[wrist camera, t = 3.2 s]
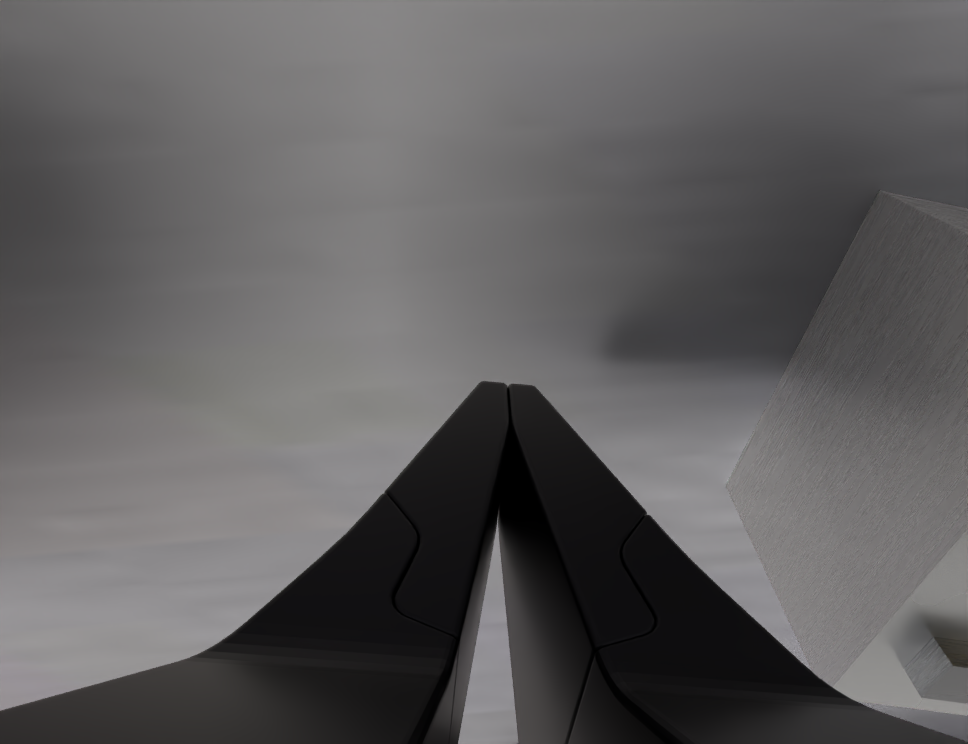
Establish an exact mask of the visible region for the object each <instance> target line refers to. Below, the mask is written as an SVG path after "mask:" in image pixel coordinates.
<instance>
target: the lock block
mask: <svg viewBox="0 0 968 744" xmlns="http://www.w3.org/2000/svg"><path fill="white" fill-rule="evenodd" d="M725 486H726V488H727V490H728V492H729V495H730V497H731V499H732V501H733V503H734V505H735V507H736V509H737V512H738V514H739V516H740V518H741V520H742V522H743V524H744V527H745V529H746V531H747V533H748V535H749V537H750V539H751V542H752V544H753V546H754V548H755V550H756V552H757V554H758V557H759V559H760V561H761V563H762V565H763V567H764V569H765V571H766V574H767V576H768V578H769V580H770V582H771V584H772V586H773V589H774V591H775V593H776V595H777V597H778V599H779V601H780V604H781V606H782V608H783V610H784V612H785V614H786V616H787V619H788V621H789V623H790V625H791V627H792V629H793V631H794V633H795V636H796V638H797V640H798V642H799V644H800V646H801V648H802V651H803V653H804V655H805V657H806V659H807V661H808V663H809V666H810V668H811V670H812V672H813V673H814V674H815V675H817V676H818V677H819V678H820V679H822V680H823V681H825V682H826V683H827V684H829V685H830V686H831V687H833V688H834V689H836V690H837V691H839V692H841V693H842V694H844V695H846V696H847V697H849V698H851V699H853V700H855V701H858V702H865V703H873V704H881V705H888V706H896V707H904V708H912V709H919V710H927V711H935V712H942V713H950V714H958V715H966V716H968V208H965V207H960V206H955V205H950V204H945V203H940V202H935V201H930V200H925V199H920V198H915V197H910V196H905V195H900V194H895V193H890V192H885V191H880V190H879V192H878V194H877V196H876V198H875V200H874V202H873V203H872V205H871V207H870V209H869V211H868V213H867V215H866V217H865V219H864V221H863V223H862V225H861V226H860V228H859V230H858V232H857V234H856V236H855V238H854V240H853V242H852V244H851V246H850V248H849V249H848V251H847V253H846V255H845V257H844V259H843V261H842V263H841V265H840V267H839V269H838V270H837V272H836V274H835V276H834V278H833V280H832V282H831V284H830V286H829V288H828V290H827V292H826V293H825V295H824V297H823V299H822V301H821V303H820V305H819V307H818V309H817V311H816V313H815V315H814V316H813V318H812V320H811V322H810V324H809V326H808V328H807V330H806V332H805V334H804V336H803V338H802V339H801V341H800V343H799V345H798V347H797V349H796V351H795V353H794V355H793V357H792V359H791V361H790V362H789V364H788V366H787V368H786V370H785V372H784V374H783V376H782V378H781V380H780V382H779V384H778V385H777V387H776V389H775V391H774V393H773V395H772V397H771V399H770V401H769V403H768V405H767V406H766V408H765V410H764V412H763V414H762V416H761V418H760V420H759V422H758V424H757V426H756V428H755V429H754V431H753V433H752V435H751V437H750V439H749V441H748V443H747V445H746V447H745V449H744V451H743V452H742V454H741V456H740V458H739V460H738V462H737V464H736V466H735V468H734V470H733V472H732V474H731V475H730V477H729V479H728V481H727V483H726V485H725Z"/></svg>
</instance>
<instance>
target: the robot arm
mask: <svg viewBox="0 0 968 744" xmlns="http://www.w3.org/2000/svg"><path fill="white" fill-rule="evenodd" d="M497 518H498V528H499V542H500V552H501V563H502V573H503V584H504V594H505V605H506V615H507V626H508V636H509V647H510V657H511V668H512V678H513V689H514V699H515V710H516V720H517V731H518V741H519V744H968V742H966V741H963V740H960V739H957V738H954V737H952V736H949V735H946V734H943V733H940V732H937V731H934V730H931V729H928V728H925V727H923V726H920V725H917V724H914V723H911V722H908V721H905V720H902V719H899V718H896V717H894V716H891V715H888V714H885V713H882V712H879V711H877V710H874V709H872V708H869V707H867V706H865V705H863V704H861V703H859V702H857V701H855V700H853V699H851V698H849V697H847V696H846V695H844V694H842V693H841V692H839V691H837V690H836V689H834V688H833V687H831V686H830V685H829V684H827V683H826V682H825V681H823V680H822V679H820V678H819V677H818V676H817V675H815V674H814V673H813V672H812V671H811V670H810V669H808V668H807V667H806V666H805V665H804V664H803V663H801V662H800V661H799V660H798V659H797V658H796V657H795V656H794V655H793V654H792V653H791V652H790V651H788V650H787V649H786V648H785V647H784V646H783V645H782V644H781V643H780V642H779V641H778V640H776V639H775V638H774V637H773V636H772V635H771V634H770V633H769V632H768V631H767V630H766V629H765V628H763V627H762V626H761V625H760V624H759V623H758V622H757V621H756V620H755V619H754V618H753V617H751V616H750V615H749V614H748V613H747V612H746V611H745V610H744V609H743V608H742V607H741V606H740V605H738V604H737V603H736V602H735V601H734V600H733V599H732V598H731V597H730V596H729V595H728V594H726V593H725V592H724V591H723V590H722V589H721V588H720V587H719V586H718V585H717V584H716V583H715V582H714V581H713V580H712V579H711V578H710V577H709V576H708V575H707V574H705V573H704V572H703V571H702V570H701V569H700V568H699V567H698V566H697V565H696V564H695V563H694V562H693V561H692V560H691V559H690V558H689V557H688V556H687V555H686V554H685V553H684V552H683V551H682V550H681V548H680V547H679V546H678V545H677V544H676V543H675V542H674V541H673V540H672V539H671V538H670V537H669V536H668V535H667V534H666V533H665V531H664V530H663V529H662V528H661V527H660V526H659V525H658V524H657V522H656V521H655V520H654V519H653V518H652V517H651V516H650V515H647V512H646V510H645V509H644V508H643V507H642V506H641V505H640V504H639V503H638V501H637V500H636V499H635V498H634V497H633V496H632V495H631V494H630V492H629V491H628V490H627V489H626V488H625V487H624V486H623V485H622V483H621V482H620V481H619V480H618V479H617V478H616V477H615V476H614V474H613V473H612V472H611V471H610V470H609V469H608V468H607V467H606V465H605V464H604V463H603V462H602V461H601V460H600V459H599V458H598V456H597V455H596V454H595V453H594V452H593V451H592V450H591V449H590V447H589V446H588V445H587V444H586V443H585V442H584V441H583V440H582V438H581V437H580V436H579V435H578V434H577V433H576V432H575V431H574V430H573V428H572V427H571V426H570V425H569V424H568V423H567V422H566V421H565V419H564V418H563V417H562V416H561V415H560V414H559V413H558V412H557V410H556V409H555V408H554V407H553V406H552V405H551V404H550V403H549V401H548V400H547V399H546V398H545V397H544V396H543V395H542V394H541V392H540V391H539V390H538V389H537V388H536V387H535V386H532V385H522V384H510V385H509V386H508V388H507V385H506V384H505V383H499V382H487V381H482V382H480V383H479V384H478V385H477V386H476V388H475V389H474V390H473V391H472V392H471V393H470V394H469V396H468V397H467V398H466V399H465V400H464V401H463V402H462V404H461V405H460V406H459V407H458V408H457V409H456V410H455V412H454V413H453V414H452V415H451V416H450V417H449V418H448V420H447V421H446V422H445V423H444V424H443V425H442V426H441V428H440V429H439V430H438V431H437V432H436V433H435V434H434V436H433V437H432V438H431V439H430V440H429V441H428V442H427V444H426V445H425V446H424V447H423V448H422V449H421V450H420V452H419V453H418V454H417V455H416V456H415V457H414V459H413V460H412V461H411V462H410V463H409V464H408V465H407V467H406V468H405V469H404V470H403V471H402V472H401V473H400V475H399V476H398V477H397V478H396V479H395V480H394V481H393V483H392V484H391V485H390V486H389V487H388V488H387V489H386V491H385V493H384V494H382V495H381V496H380V497H379V498H378V499H377V500H376V502H375V503H374V504H373V505H372V506H371V507H370V509H369V510H368V511H367V512H366V513H365V514H364V515H363V516H362V517H361V518H360V519H359V520H358V521H357V522H356V524H355V525H354V526H353V527H352V528H351V529H350V530H349V531H348V532H347V533H346V534H345V535H344V536H343V537H342V538H341V539H339V540H338V541H337V542H336V543H335V544H334V545H333V546H332V547H331V548H330V549H329V550H328V551H326V552H325V553H324V554H323V555H322V556H321V557H320V558H319V559H318V560H317V561H315V562H314V563H313V564H312V565H311V566H310V567H309V568H307V569H306V570H305V571H304V572H303V573H302V574H301V575H299V576H298V577H297V578H296V579H295V580H294V581H292V582H291V583H290V584H289V585H288V586H287V587H286V588H284V589H283V590H282V591H281V592H280V593H279V594H278V595H276V596H275V597H274V598H273V599H272V600H271V601H270V602H268V603H267V604H266V605H265V606H264V607H263V608H262V609H260V610H259V611H258V612H257V613H256V614H255V615H253V616H252V617H251V618H250V619H249V620H248V621H247V622H245V623H244V624H243V625H242V626H241V627H239V628H238V629H237V630H236V631H234V632H233V633H232V634H230V635H229V636H227V637H226V638H225V639H223V640H222V641H220V642H219V643H217V644H216V645H214V646H212V647H210V648H209V649H207V650H205V651H203V652H201V653H199V654H197V655H195V656H192V657H190V658H187V659H184V660H181V661H178V662H174V663H171V664H167V665H163V666H160V667H156V668H153V669H149V670H145V671H142V672H138V673H135V674H131V675H127V676H124V677H120V678H117V679H113V680H109V681H106V682H102V683H99V684H95V685H91V686H88V687H84V688H81V689H77V690H73V691H70V692H66V693H63V694H59V695H55V696H52V697H48V698H45V699H41V700H37V701H34V702H30V703H27V704H23V705H19V706H16V707H12V708H9V709H5V710H1V711H0V744H458V740H459V734H460V728H461V723H462V717H463V712H464V706H465V701H466V695H467V689H468V684H469V678H470V673H471V667H472V662H473V656H474V650H475V645H476V639H477V634H478V628H479V623H480V617H481V611H482V606H483V600H484V595H485V589H486V584H487V578H488V572H489V567H490V561H491V556H492V550H493V545H494V539H495V533H496V526H497Z"/></svg>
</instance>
